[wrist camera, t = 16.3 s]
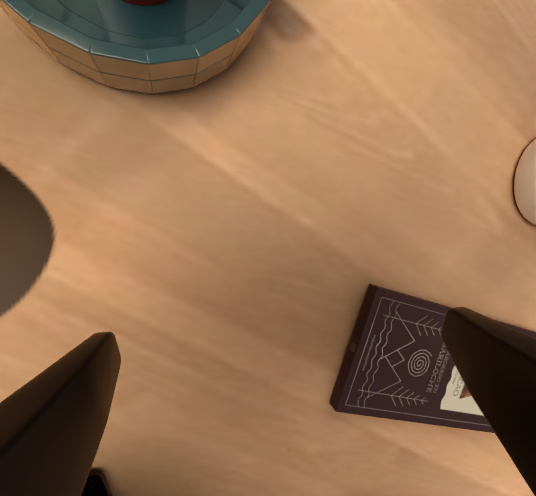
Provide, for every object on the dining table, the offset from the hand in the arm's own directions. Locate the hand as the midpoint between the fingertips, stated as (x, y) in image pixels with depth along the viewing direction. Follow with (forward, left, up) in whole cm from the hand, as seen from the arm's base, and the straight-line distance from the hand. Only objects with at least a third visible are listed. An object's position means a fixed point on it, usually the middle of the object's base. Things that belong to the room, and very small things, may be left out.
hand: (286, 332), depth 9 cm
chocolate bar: (+15, -13, -12) cm, 23 cm away
